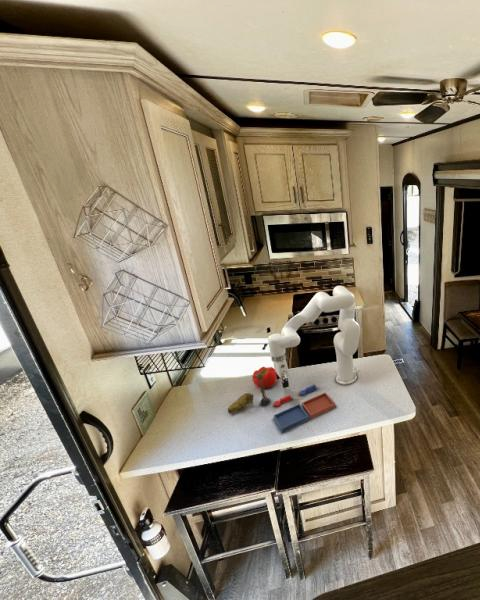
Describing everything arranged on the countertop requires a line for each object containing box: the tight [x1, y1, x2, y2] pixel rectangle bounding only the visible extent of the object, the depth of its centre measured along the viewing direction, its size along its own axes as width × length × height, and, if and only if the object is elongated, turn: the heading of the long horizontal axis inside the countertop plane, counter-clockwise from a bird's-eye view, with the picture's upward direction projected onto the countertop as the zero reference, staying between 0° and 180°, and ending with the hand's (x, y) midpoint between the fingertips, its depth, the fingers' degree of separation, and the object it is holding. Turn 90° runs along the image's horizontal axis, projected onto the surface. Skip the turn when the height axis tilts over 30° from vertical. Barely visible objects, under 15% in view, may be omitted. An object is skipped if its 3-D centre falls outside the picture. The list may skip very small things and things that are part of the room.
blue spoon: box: [299, 384, 317, 397], centre depth 191 cm, size 10×4×2 cm, turn 128°
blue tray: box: [273, 403, 310, 434], centre depth 171 cm, size 14×12×3 cm
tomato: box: [252, 366, 278, 389], centre depth 196 cm, size 14×13×10 cm
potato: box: [227, 392, 254, 414], centre depth 178 cm, size 8×13×8 cm, turn 109°
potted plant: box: [252, 373, 271, 407], centre depth 179 cm, size 6×5×20 cm
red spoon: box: [273, 394, 293, 408], centre depth 183 cm, size 10×4×2 cm, turn 128°
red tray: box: [301, 392, 337, 420], centre depth 179 cm, size 14×12×3 cm
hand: (282, 382), depth 180 cm, fingers open, 9 cm apart
